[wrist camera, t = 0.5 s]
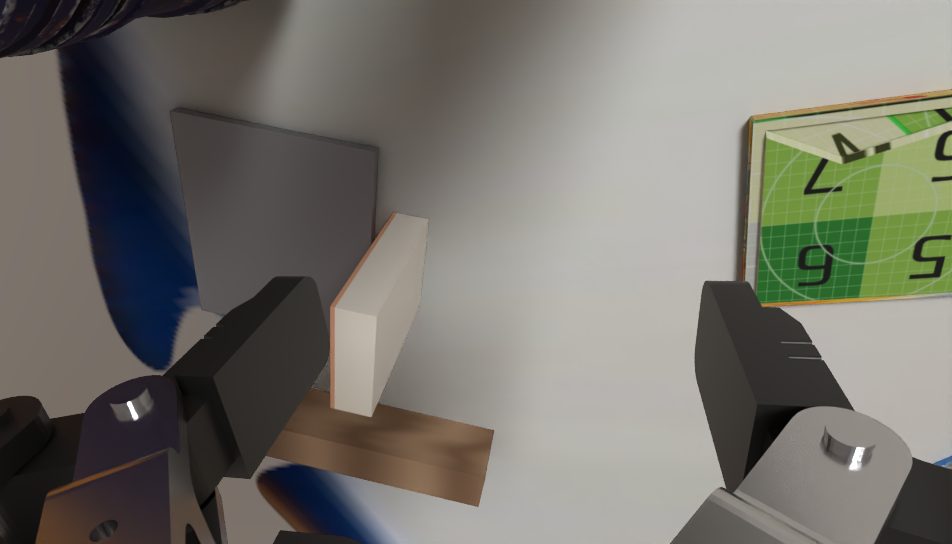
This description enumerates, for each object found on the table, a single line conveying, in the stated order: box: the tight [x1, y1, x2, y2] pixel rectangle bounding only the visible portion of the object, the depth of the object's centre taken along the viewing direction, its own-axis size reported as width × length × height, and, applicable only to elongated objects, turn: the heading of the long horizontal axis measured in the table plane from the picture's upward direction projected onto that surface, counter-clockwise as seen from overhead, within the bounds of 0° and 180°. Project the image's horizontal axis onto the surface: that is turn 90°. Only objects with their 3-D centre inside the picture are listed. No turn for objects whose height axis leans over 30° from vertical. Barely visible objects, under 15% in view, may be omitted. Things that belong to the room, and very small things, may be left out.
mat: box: [170, 108, 378, 339], centre depth 33 cm, size 13×11×1 cm
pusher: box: [266, 388, 494, 507], centre depth 38 cm, size 17×7×4 cm, turn 82°
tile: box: [330, 212, 429, 417], centre depth 29 cm, size 6×2×9 cm, turn 172°
